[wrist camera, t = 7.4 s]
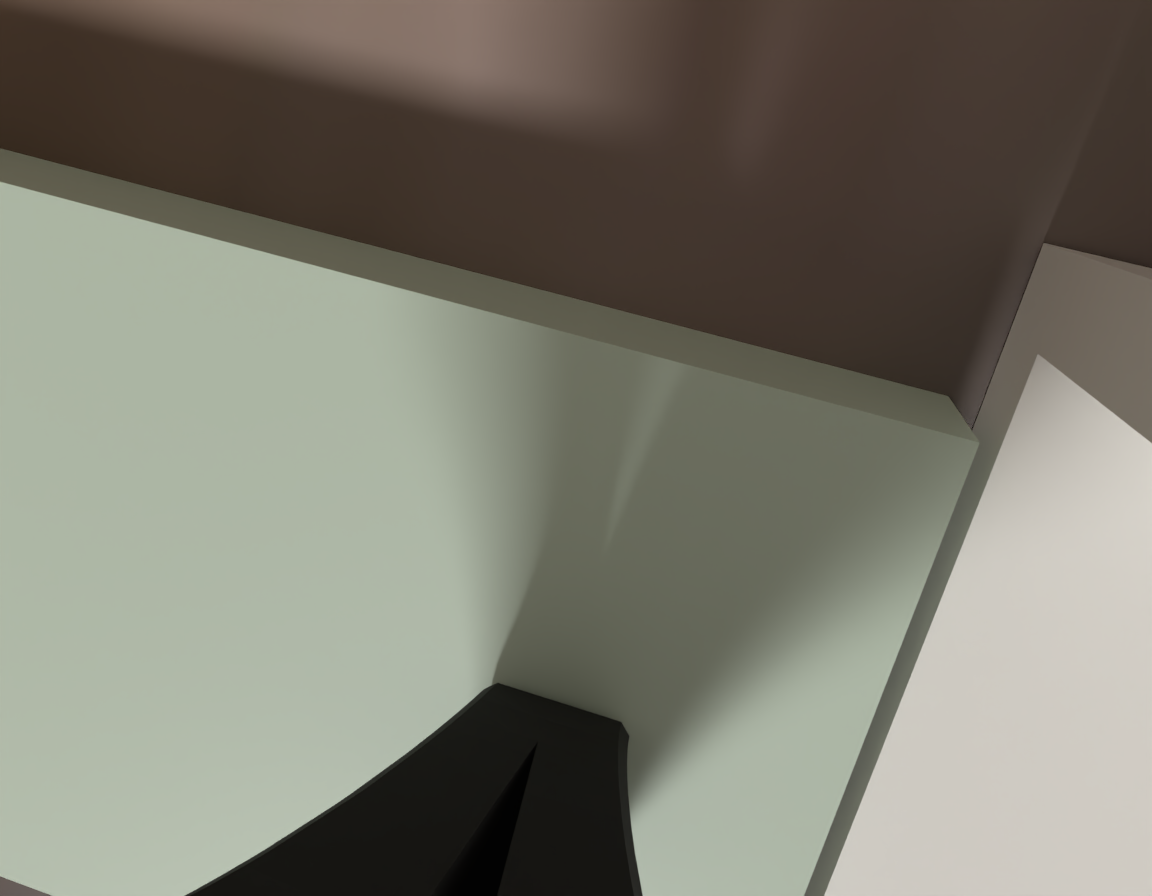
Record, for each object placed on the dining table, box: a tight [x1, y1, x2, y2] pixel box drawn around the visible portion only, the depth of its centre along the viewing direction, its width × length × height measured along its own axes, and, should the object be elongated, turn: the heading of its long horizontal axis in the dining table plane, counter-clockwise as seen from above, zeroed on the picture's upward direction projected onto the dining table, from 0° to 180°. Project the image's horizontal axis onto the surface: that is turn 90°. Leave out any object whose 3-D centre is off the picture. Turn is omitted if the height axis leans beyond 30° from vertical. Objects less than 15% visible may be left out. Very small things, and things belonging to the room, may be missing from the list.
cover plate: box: [0, 148, 980, 896], centre depth 10 cm, size 8×11×2 cm
